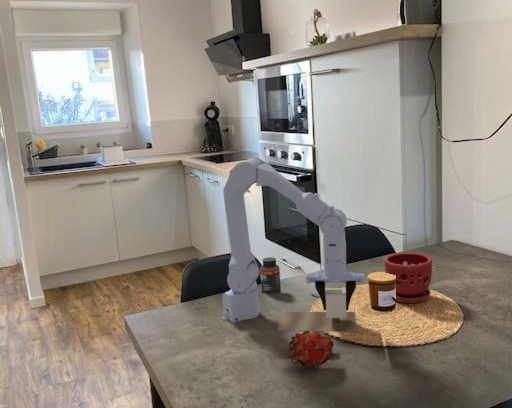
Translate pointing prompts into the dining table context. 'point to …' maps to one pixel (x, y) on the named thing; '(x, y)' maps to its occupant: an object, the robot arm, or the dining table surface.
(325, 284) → the pacifier
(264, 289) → the supplement bottle
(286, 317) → the post board
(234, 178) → the robot arm
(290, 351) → the dragon fruit
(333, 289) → the white hollow block
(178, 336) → the dining table surface
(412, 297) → the plant pot
